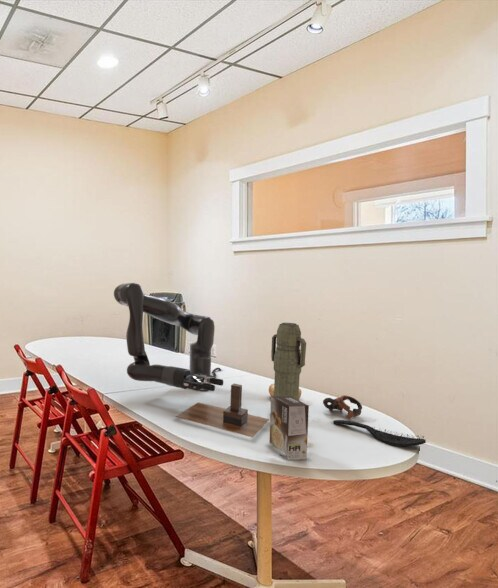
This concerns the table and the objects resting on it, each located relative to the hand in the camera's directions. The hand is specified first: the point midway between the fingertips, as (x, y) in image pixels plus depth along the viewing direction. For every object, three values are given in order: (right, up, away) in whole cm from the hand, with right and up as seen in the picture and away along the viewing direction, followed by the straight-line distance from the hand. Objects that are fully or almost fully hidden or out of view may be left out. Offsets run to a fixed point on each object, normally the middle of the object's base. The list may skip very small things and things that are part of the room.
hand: (218, 385), depth 143 cm
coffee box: (+11, -15, -24) cm, 30 cm away
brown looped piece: (+49, -13, +7) cm, 51 cm away
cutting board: (+1, -13, 0) cm, 13 cm away
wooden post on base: (+4, -12, -3) cm, 13 cm away
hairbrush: (+47, -14, -12) cm, 51 cm away
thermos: (+26, -13, +4) cm, 30 cm away
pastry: (+37, -12, +24) cm, 46 cm away
